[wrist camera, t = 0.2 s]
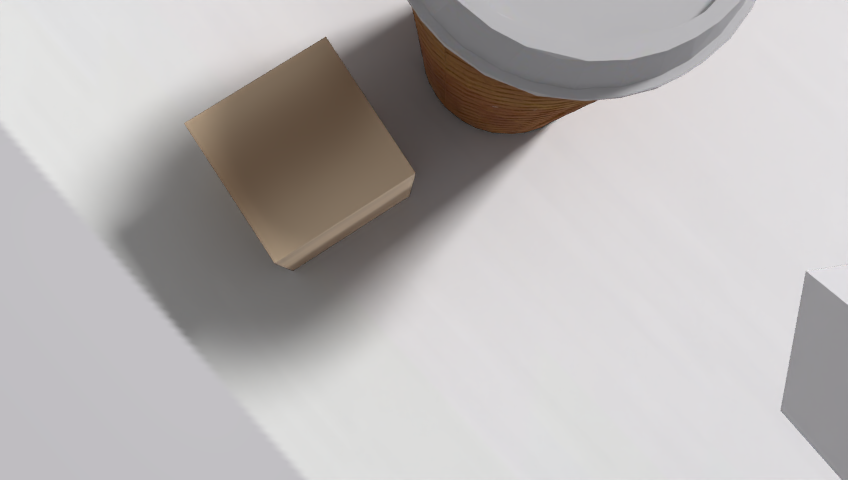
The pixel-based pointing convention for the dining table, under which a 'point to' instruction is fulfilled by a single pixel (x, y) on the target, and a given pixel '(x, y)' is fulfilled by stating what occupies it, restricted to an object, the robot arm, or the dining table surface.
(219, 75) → the dining table surface
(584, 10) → the disposable coffee cup
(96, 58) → the dining table surface
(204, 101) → the dining table surface
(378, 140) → the block
